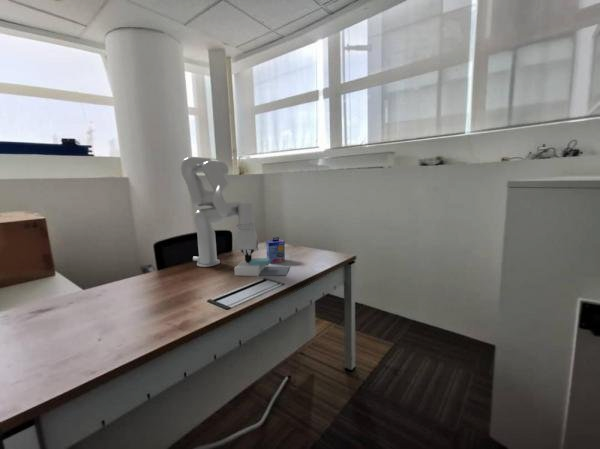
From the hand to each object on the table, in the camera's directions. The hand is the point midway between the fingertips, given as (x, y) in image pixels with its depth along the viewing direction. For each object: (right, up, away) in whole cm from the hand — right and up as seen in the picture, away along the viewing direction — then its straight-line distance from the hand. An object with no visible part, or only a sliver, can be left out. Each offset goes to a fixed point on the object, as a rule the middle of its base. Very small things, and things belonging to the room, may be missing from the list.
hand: (248, 262), depth 143 cm
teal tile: (+6, -1, 0) cm, 6 cm away
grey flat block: (+1, -5, +1) cm, 5 cm away
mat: (+14, -5, -1) cm, 15 cm away
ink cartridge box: (+13, -2, +17) cm, 22 cm away
